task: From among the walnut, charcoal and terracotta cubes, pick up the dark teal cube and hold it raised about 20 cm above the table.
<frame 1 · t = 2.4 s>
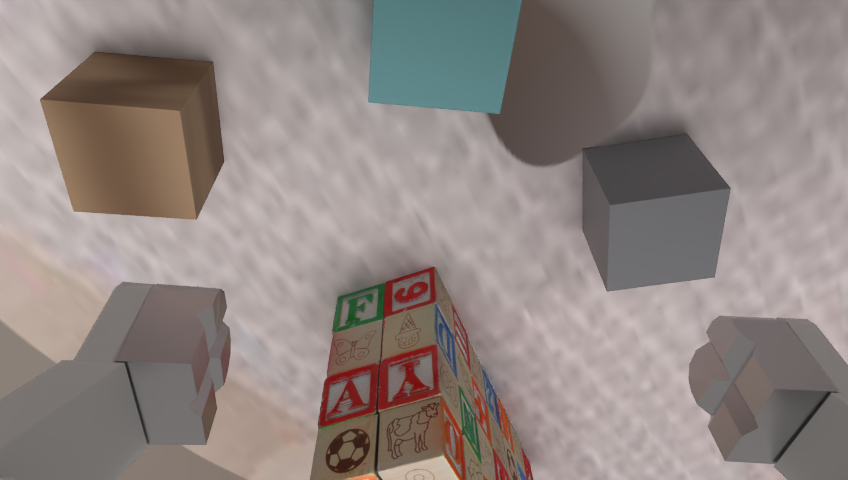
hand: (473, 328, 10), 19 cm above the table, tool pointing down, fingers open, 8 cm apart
stack of blocks: (446, 387, 41), on the table
walnut cube: (164, 109, 28), on the table
teal cube: (436, 1, 25), on the table
charcoal cube: (631, 183, 31), on the table
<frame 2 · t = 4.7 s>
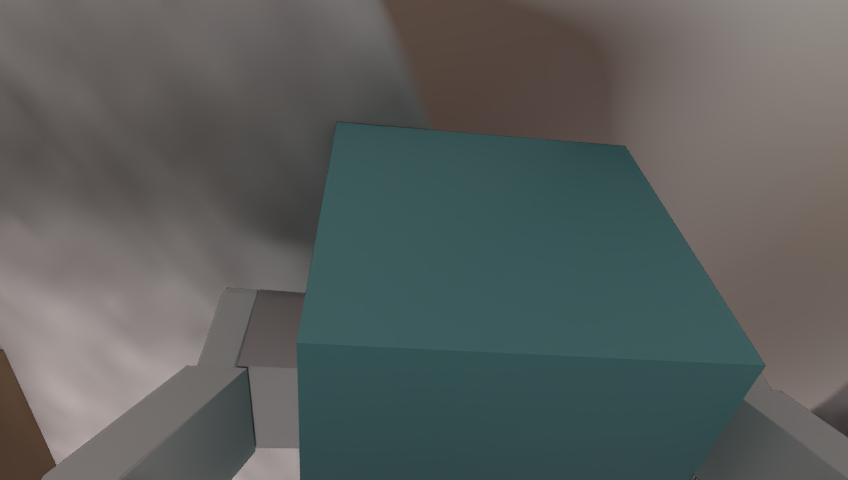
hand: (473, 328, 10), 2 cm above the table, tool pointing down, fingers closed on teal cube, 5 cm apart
teal cube: (462, 249, 12), on the table, touching gripper
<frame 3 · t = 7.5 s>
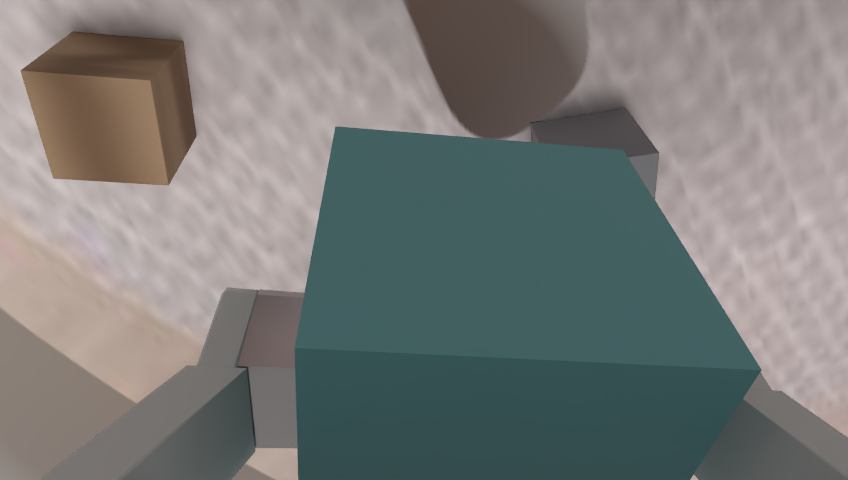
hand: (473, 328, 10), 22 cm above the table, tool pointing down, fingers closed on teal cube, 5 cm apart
walnut cube: (138, 86, 30), on the table
teal cube: (461, 253, 12), point 20 cm above the table, touching gripper
charcoal cube: (577, 156, 33), on the table
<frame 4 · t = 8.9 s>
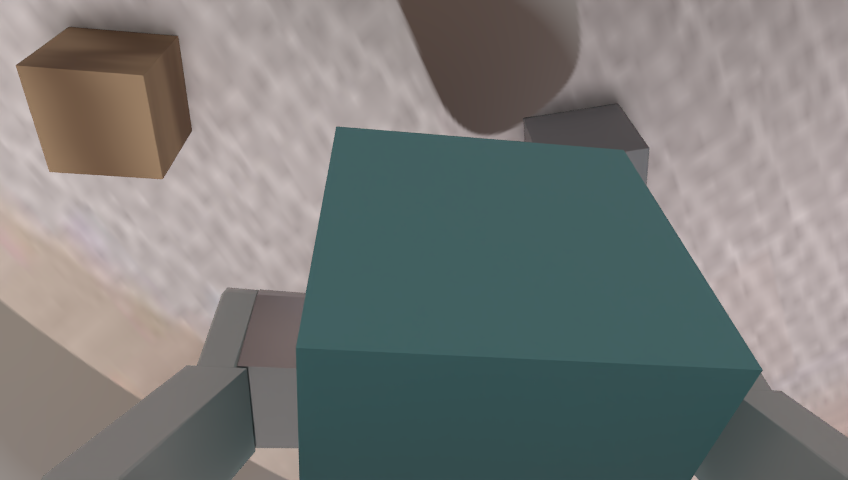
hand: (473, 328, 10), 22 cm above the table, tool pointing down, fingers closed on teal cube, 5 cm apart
walnut cube: (134, 81, 30), on the table
teal cube: (462, 253, 12), point 20 cm above the table, touching gripper
charcoal cube: (570, 151, 33), on the table
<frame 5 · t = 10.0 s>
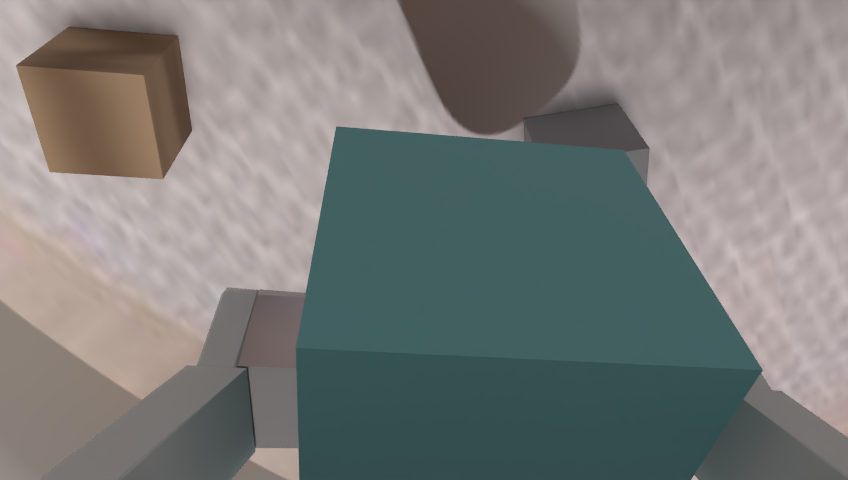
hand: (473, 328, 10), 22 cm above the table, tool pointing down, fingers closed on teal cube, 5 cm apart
walnut cube: (134, 81, 30), on the table
teal cube: (462, 253, 12), point 20 cm above the table, touching gripper
charcoal cube: (570, 151, 33), on the table
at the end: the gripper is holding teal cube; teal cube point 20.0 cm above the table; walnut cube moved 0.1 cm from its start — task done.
